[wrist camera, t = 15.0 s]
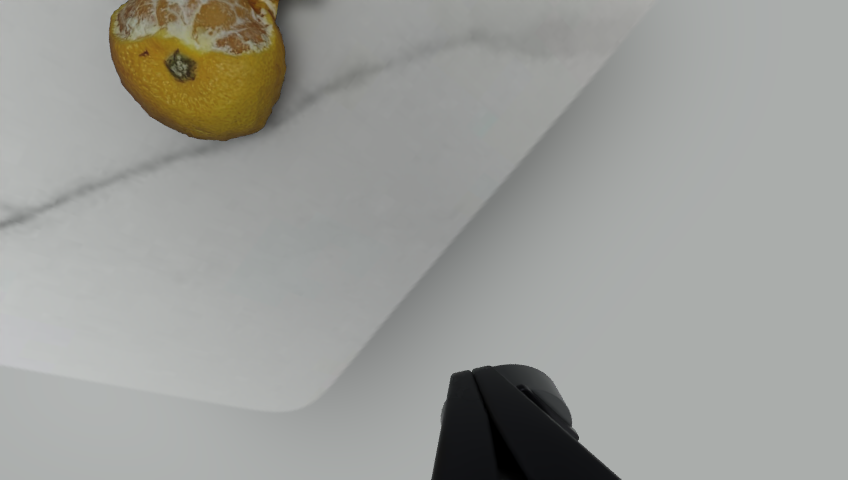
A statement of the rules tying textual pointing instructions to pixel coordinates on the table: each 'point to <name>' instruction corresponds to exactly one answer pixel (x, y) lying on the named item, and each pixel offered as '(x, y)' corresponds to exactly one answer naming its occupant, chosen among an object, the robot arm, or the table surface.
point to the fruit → (201, 63)
